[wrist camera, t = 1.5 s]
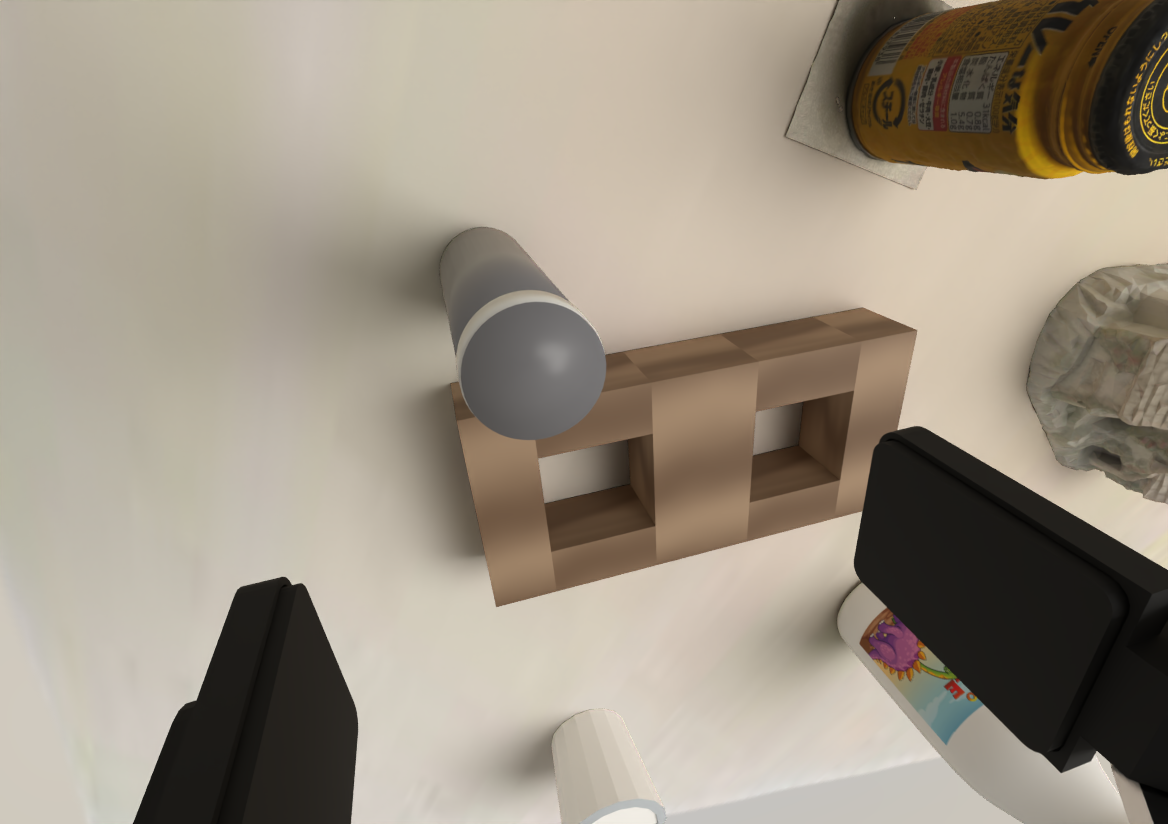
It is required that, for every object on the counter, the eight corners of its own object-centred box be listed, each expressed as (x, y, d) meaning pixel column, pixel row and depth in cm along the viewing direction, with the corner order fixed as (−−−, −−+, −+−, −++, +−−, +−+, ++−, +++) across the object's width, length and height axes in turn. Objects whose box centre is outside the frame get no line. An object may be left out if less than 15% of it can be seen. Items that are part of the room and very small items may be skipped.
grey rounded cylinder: (429, 232, 25) (445, 315, 14) (523, 220, 25) (603, 290, 15) (448, 323, 27) (473, 454, 16) (535, 309, 27) (612, 425, 17)
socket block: (450, 383, 28) (456, 420, 24) (863, 307, 32) (917, 330, 29) (487, 560, 33) (497, 611, 30) (837, 474, 38) (880, 509, 34)
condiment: (913, 189, 30) (1177, 227, 20) (783, 136, 27) (1015, 149, 17) (989, 31, 27) (1341, -20, 17) (855, -48, 24) (1184, -167, 14)
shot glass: (589, 690, 41) (621, 790, 35) (649, 719, 44) (687, 814, 38) (523, 750, 42) (543, 857, 36) (586, 774, 45) (614, 875, 39)
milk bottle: (921, 612, 48) (1212, 892, 30) (838, 653, 47) (1087, 962, 30) (917, 548, 44) (1249, 829, 26) (827, 593, 43) (1106, 909, 26)
